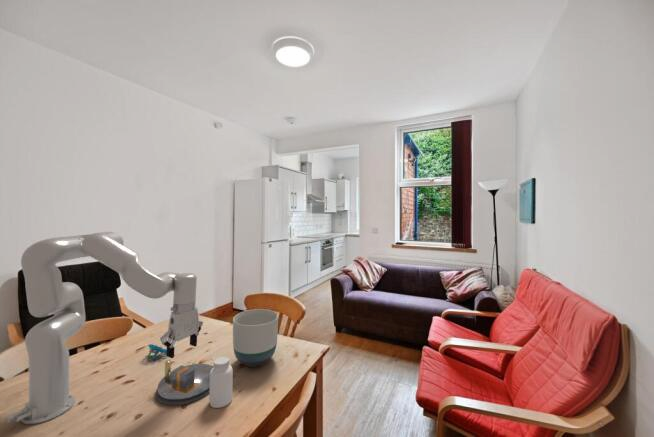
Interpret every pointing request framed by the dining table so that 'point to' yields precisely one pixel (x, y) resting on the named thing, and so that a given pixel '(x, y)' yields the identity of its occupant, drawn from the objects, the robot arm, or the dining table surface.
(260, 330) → the planter
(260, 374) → the dining table surface
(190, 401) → the base plate
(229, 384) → the pill bottle
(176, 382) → the link block
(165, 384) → the turntable
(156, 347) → the blue green toy
